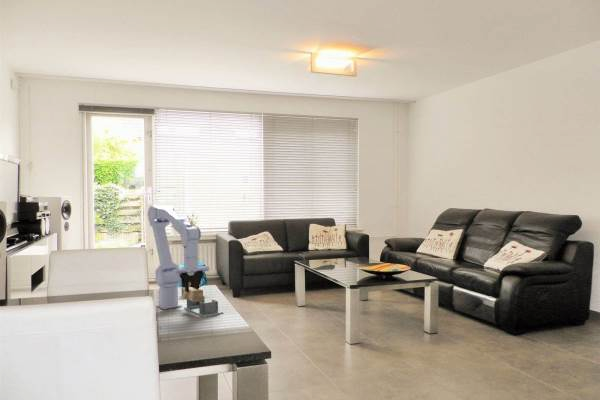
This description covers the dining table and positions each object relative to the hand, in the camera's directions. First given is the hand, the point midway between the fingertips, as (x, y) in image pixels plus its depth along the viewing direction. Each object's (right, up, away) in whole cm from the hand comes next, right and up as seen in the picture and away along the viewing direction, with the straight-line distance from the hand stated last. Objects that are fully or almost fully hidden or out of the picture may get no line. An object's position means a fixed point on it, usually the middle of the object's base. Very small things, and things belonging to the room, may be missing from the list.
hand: (191, 290), depth 187 cm
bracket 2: (+7, -9, -2) cm, 12 cm away
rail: (0, -3, 0) cm, 3 cm away
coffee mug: (-9, -10, +38) cm, 40 cm away
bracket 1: (0, -9, +7) cm, 12 cm away
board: (+4, -9, +3) cm, 10 cm away
